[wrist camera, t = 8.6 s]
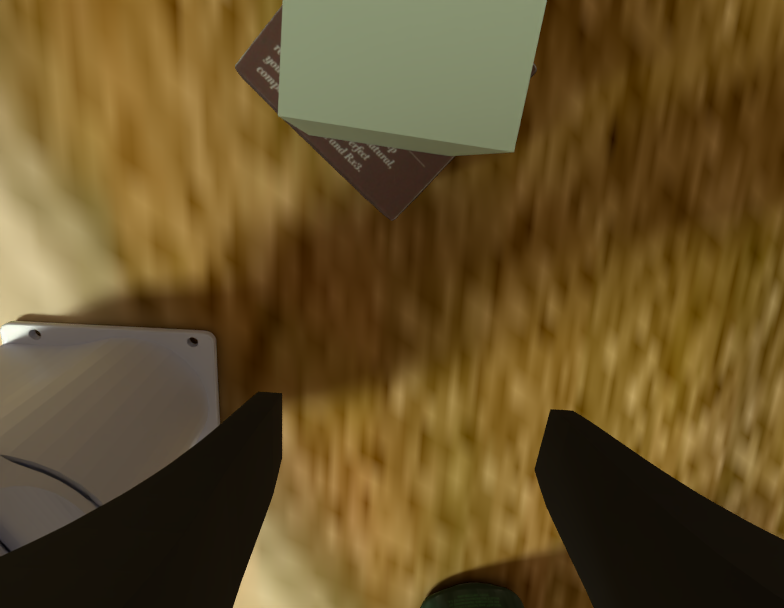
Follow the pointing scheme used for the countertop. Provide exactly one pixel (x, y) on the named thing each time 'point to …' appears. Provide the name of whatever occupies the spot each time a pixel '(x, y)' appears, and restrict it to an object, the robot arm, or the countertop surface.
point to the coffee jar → (473, 597)
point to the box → (350, 159)
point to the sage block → (409, 71)
